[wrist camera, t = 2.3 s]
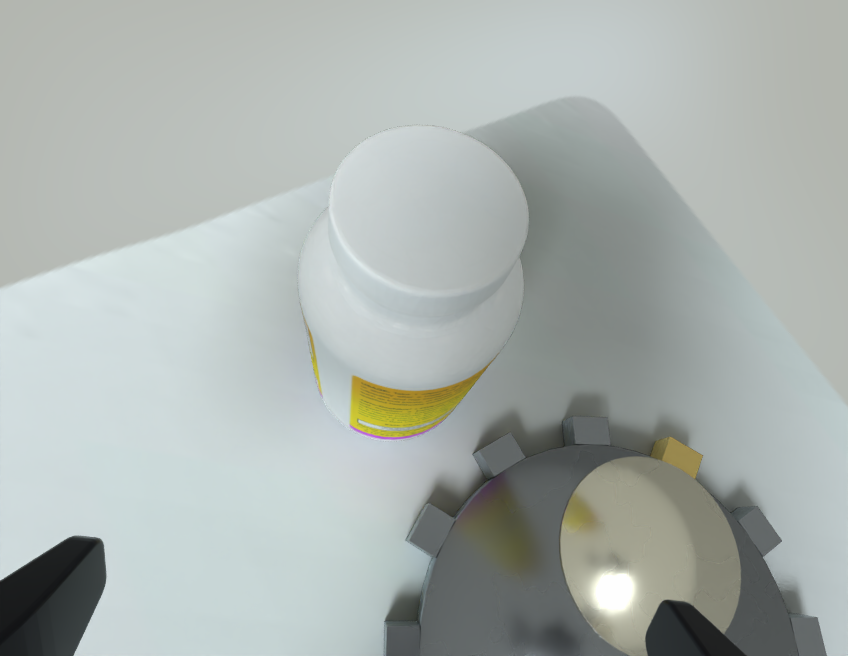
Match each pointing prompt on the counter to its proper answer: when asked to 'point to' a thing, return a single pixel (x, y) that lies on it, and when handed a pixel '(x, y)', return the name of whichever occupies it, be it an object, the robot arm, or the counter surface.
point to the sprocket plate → (592, 557)
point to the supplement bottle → (411, 278)
